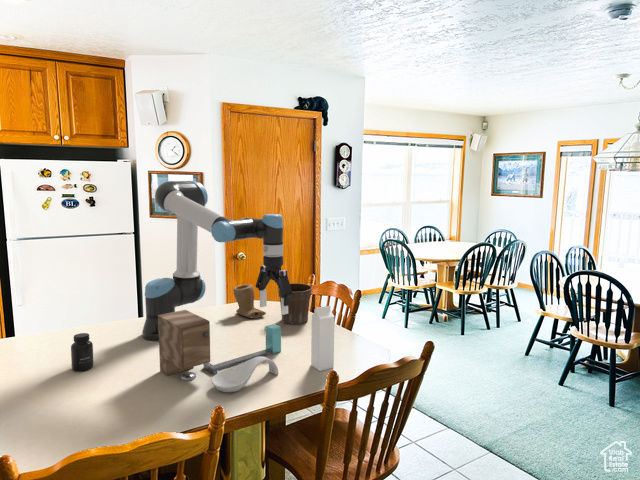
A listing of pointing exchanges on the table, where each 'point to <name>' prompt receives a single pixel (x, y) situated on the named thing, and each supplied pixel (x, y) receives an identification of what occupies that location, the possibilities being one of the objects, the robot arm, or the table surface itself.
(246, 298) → the brown boot
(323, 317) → the milk
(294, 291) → the plant pot
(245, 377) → the spoon rest
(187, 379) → the steel token
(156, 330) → the robot arm
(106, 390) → the table surface
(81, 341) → the supplement bottle
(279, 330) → the scraper
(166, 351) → the low cabinet
